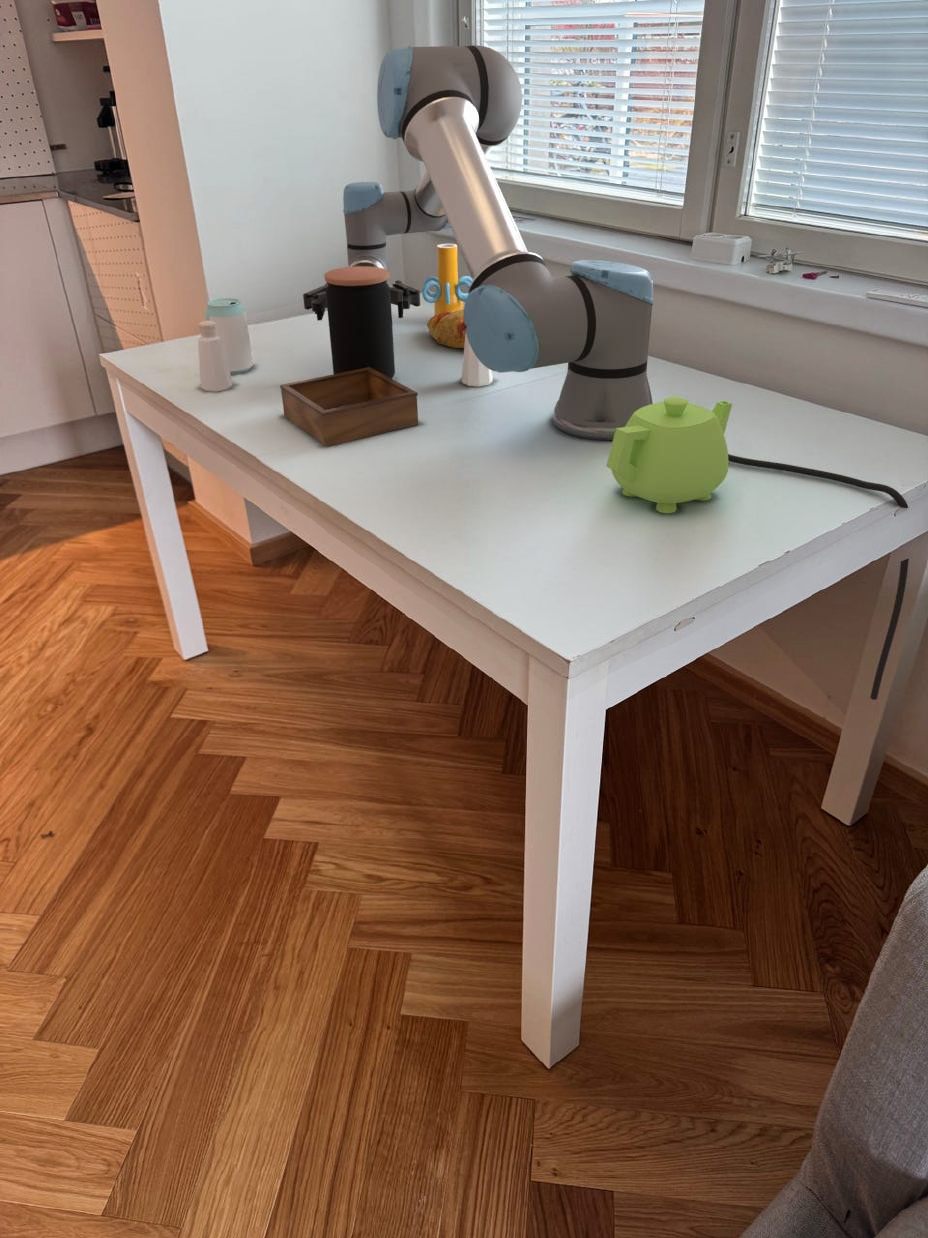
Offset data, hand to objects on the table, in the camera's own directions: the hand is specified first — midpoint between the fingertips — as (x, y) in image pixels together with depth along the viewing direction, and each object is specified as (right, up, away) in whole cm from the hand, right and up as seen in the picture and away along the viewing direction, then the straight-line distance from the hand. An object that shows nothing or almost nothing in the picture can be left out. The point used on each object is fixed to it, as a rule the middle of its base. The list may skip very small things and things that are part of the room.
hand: (359, 310), depth 157 cm
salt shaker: (-25, -12, +5) cm, 28 cm away
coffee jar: (0, -10, +7) cm, 12 cm away
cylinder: (+14, +10, +39) cm, 43 cm away
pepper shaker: (+20, -11, +5) cm, 23 cm away
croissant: (+17, +2, +26) cm, 31 cm away
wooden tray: (0, -20, -10) cm, 23 cm away
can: (-24, -6, +14) cm, 29 cm away
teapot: (+44, -36, -36) cm, 67 cm away
